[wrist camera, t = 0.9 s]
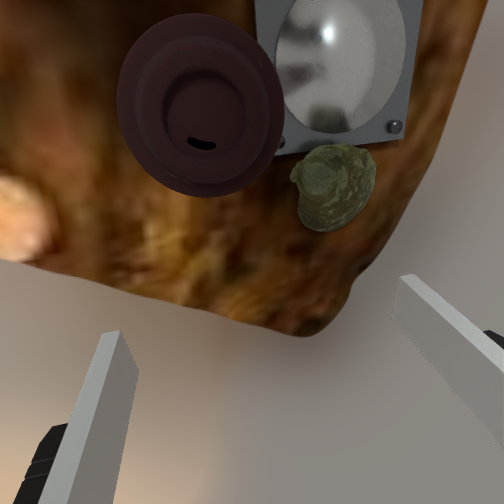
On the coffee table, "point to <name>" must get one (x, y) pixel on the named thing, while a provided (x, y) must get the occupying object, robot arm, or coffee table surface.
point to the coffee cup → (200, 105)
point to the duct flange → (340, 67)
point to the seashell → (333, 185)
